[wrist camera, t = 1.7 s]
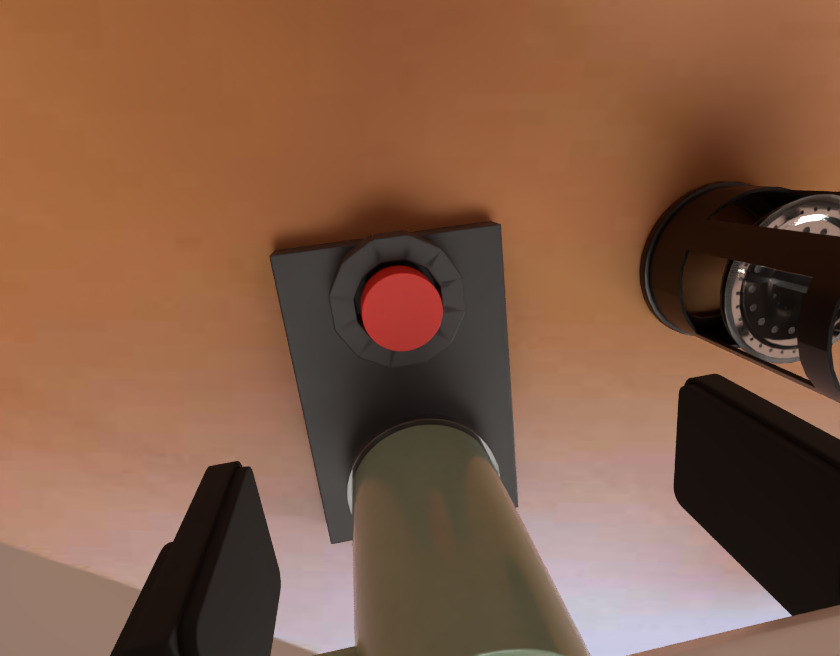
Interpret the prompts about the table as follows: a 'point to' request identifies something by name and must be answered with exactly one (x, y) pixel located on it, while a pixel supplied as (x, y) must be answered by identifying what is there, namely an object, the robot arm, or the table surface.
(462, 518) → the kettle
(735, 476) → the robot arm
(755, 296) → the french press
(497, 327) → the base
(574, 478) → the table surface
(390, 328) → the power button
